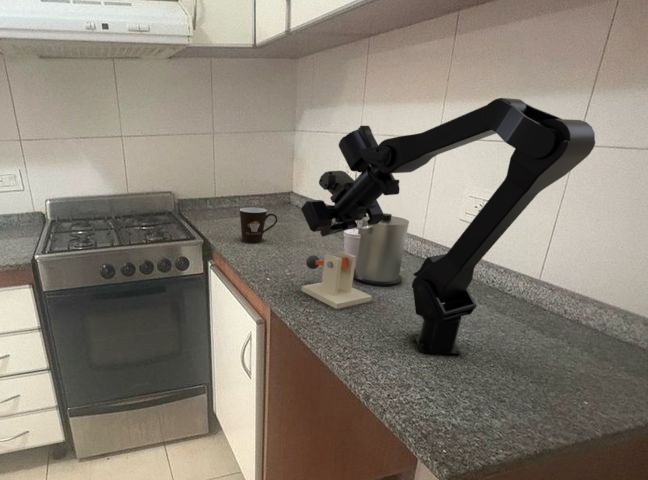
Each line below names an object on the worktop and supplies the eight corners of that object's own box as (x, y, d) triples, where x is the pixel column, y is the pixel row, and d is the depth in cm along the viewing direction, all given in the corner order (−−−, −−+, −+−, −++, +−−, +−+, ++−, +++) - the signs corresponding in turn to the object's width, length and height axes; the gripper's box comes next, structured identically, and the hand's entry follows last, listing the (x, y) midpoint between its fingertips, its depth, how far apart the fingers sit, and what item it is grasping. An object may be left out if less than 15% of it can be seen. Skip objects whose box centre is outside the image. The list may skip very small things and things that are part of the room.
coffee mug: (235, 242, 142) (236, 211, 138) (243, 236, 149) (244, 206, 145) (270, 246, 138) (272, 214, 134) (276, 240, 146) (278, 209, 142)
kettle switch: (303, 269, 105) (303, 256, 104) (314, 267, 106) (313, 254, 106) (338, 271, 94) (337, 256, 94) (349, 269, 96) (349, 254, 95)
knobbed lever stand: (301, 292, 102) (304, 250, 98) (334, 285, 106) (339, 245, 102) (336, 310, 92) (342, 265, 88) (371, 302, 97) (378, 259, 93)
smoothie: (334, 264, 122) (340, 213, 116) (354, 262, 124) (361, 212, 118) (348, 271, 116) (355, 218, 111) (368, 269, 119) (376, 217, 113)
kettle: (372, 293, 102) (383, 222, 95) (335, 278, 111) (343, 212, 105) (416, 281, 110) (430, 215, 103) (379, 268, 119) (389, 207, 112)
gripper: (381, 156, 92) (339, 202, 106) (311, 158, 84) (275, 207, 97) (405, 200, 89) (358, 241, 103) (334, 207, 81) (293, 251, 94)
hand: (322, 234), depth 99 cm, fingers closed
